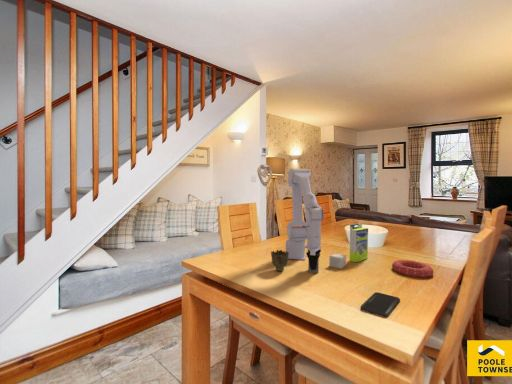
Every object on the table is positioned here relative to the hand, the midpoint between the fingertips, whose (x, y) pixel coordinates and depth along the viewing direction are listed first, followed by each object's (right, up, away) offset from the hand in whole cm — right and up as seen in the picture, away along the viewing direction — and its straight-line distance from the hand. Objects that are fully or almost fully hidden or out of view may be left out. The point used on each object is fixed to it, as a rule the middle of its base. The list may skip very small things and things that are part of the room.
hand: (313, 267), depth 118 cm
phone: (+14, -3, -32) cm, 35 cm away
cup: (-14, -2, +1) cm, 14 cm away
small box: (+12, -1, +7) cm, 14 cm away
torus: (+41, -2, -1) cm, 41 cm away
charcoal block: (0, -1, 0) cm, 1 cm away
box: (+25, -1, +17) cm, 31 cm away
